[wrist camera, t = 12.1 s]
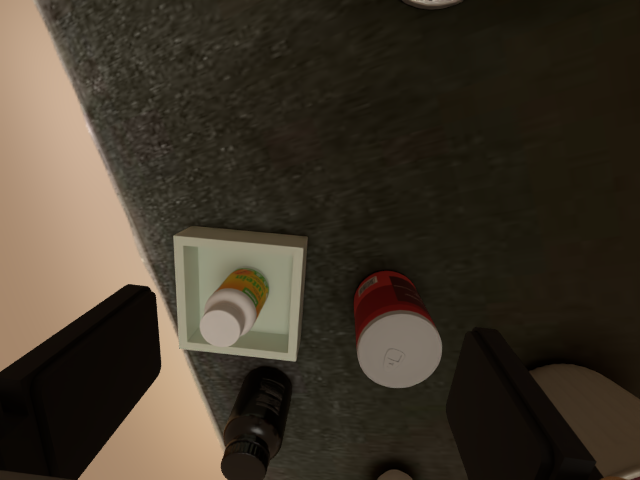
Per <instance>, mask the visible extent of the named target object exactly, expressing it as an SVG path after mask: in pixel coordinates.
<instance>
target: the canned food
mask: <svg viewBox="0 0 640 480" xmlns="http://www.w3.org/2000/svg"><path fill="white" fill-rule="evenodd" d="M354 315H355V332H356V347H357V356H358V360H359V363H360V366H361V368H362V370H363V371H364V373H365V374H366V375H367V376H368V377H369V378H370V379H371V380H373V381H374V382H376V383H378V384H380V385H383V386H386V387H391V388H405V387H409V386H413V385H415V384H418V383H420V382H422V381H423V380H425V379H426V378H428V377H429V376H430V375H431V374H432V373H433V372H434V370H435V369H436V367H437V366H438V364H439V361H440V359H441V354H442V344H441V339H440V336H439V333H438V331H437V329H436V327H435V325H434V323H433V321H432V319H431V317H430V315H429V313H428V311H427V309H426V307H425V305H424V303H423V301H422V300H421V298H420V296H419V294H418V292H417V290H416V288H415V286H414V284H413V283H412V282H411V281H410V280H409V279H408V278H407V277H406V276H404V275H402V274H400V273H397V272H393V271H380V272H376V273H374V274H372V275H370V276H368V277H367V278H366V279H365V280H364V281H363V282H362V283H361V284H360V285H359V287H358V289H357V291H356V293H355V296H354Z"/></svg>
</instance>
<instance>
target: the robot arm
mask: <svg viewBox="0 0 640 480" xmlns="http://www.w3.org/2000/svg"><path fill="white" fill-rule="evenodd" d="M401 1H403V2H405V3H406V4H408V5H411V6H414V7H417V8H422V9H430V10H432V9H442V8H446V7H450V6H453V5H456V4H458V3H460V2H462V1H464V0H432V1H429V0H401ZM160 369H161V355H160V342H159V329H158V317H157V304H156V295H155V293H154V292H151V290H150V288H149V287H148V286H140V285H132V284H128V285H126V286H124V287H123V288H121V289H120V290H118V291H117V292H115V293H114V294H113V295H111V296H110V297H108V298H107V299H105V300H104V301H102V302H101V303H99V304H98V305H97V306H96V307H94V308H92V309H91V310H89V311H88V312H86V313H85V314H84V315H82V316H81V317H79V318H78V319H76V320H75V321H73V322H72V323H70V324H69V325H68V326H66V327H65V328H63V329H62V330H60V331H59V332H57V333H56V334H55V335H53V336H52V337H50V338H49V339H47V340H46V341H44V342H43V343H42V344H40V345H39V346H37V347H36V348H34V349H33V350H31V351H30V352H28V353H27V354H26V355H24V356H23V357H21V358H20V359H19V360H17V361H15V362H14V363H13V364H11V365H10V366H8V367H7V368H5V369H4V370H2V371H1V372H0V480H78V478H79V477H80V476H81V474H82V473H83V472H84V471H85V469H86V468H87V467H88V465H89V464H90V463H91V462H92V460H93V459H94V458H95V456H96V455H97V454H98V453H99V451H100V450H101V449H102V447H103V446H104V445H105V444H106V442H107V441H108V440H109V438H110V437H111V436H112V435H113V433H114V432H115V431H116V429H117V428H118V427H119V425H120V424H121V423H122V422H123V420H124V419H125V418H126V417H127V415H128V414H129V413H130V411H131V410H132V409H133V408H134V406H135V405H136V404H137V403H138V401H139V400H140V399H141V397H142V396H143V395H144V393H145V392H146V391H147V390H148V388H149V387H150V386H151V385H152V383H153V382H154V380H155V379H156V378H157V377H158V375H159V373H160ZM446 414H447V418H448V421H449V424H450V427H451V430H452V433H453V436H454V438H455V441H456V444H457V447H458V450H459V453H460V456H461V459H462V461H463V464H464V467H465V470H466V473H467V476H468V479H469V480H627V479H624V478H621V477H612V476H608V477H605V478H604V477H603V475H602V474H601V473H600V471H599V470H598V469H597V467H596V466H595V464H596V460H595V459H594V458H593V456H592V455H591V454H590V452H589V451H588V450H587V448H586V447H585V446H584V444H583V443H582V442H581V440H580V439H579V438H578V436H577V435H576V434H575V432H574V431H573V430H572V428H571V427H570V426H569V424H568V423H567V422H566V420H565V419H564V418H563V416H562V415H561V414H560V412H559V411H558V410H557V408H556V407H555V406H554V404H553V403H552V402H551V400H550V399H549V398H548V396H547V395H546V394H545V392H544V391H543V390H542V388H541V387H540V386H539V385H538V383H537V382H536V381H535V379H534V378H533V377H532V375H531V374H530V373H529V371H528V370H527V369H526V367H525V366H524V365H523V363H522V362H521V361H520V359H519V358H518V357H517V355H516V354H515V353H514V351H513V350H512V349H511V347H510V346H509V345H508V343H507V342H506V341H505V339H504V338H503V337H502V335H501V334H500V333H499V332H498V331H497V330H495V329H487V328H479V327H475V328H473V330H472V332H471V331H468V332H467V333H466V335H465V338H464V341H463V345H462V349H461V352H460V356H459V360H458V363H457V367H456V370H455V374H454V378H453V381H452V385H451V389H450V392H449V396H448V399H447V404H446Z"/></svg>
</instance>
